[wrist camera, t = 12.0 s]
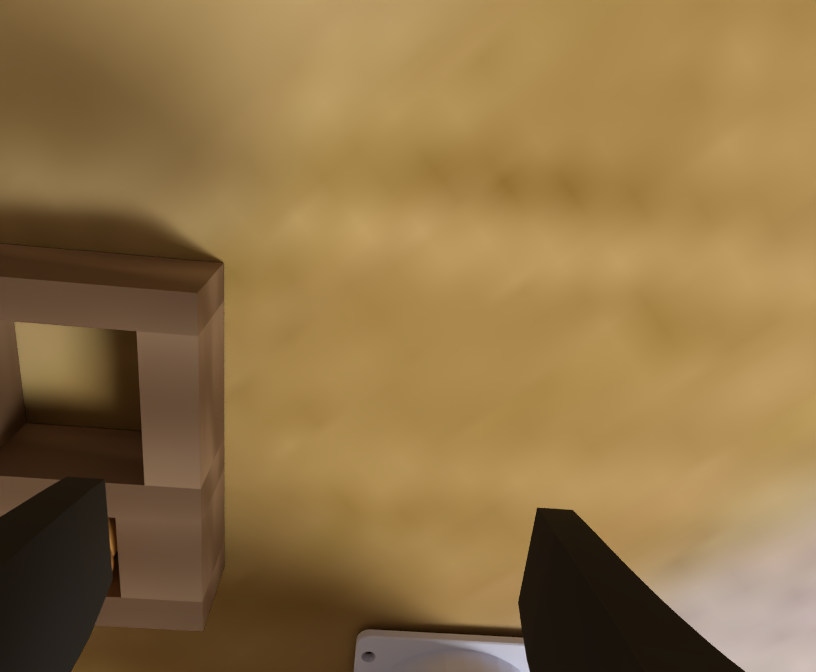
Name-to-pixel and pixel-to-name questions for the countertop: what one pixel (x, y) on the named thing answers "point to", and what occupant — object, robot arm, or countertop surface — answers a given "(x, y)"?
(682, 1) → the countertop surface
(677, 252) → the countertop surface
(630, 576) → the robot arm
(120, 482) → the socket block
